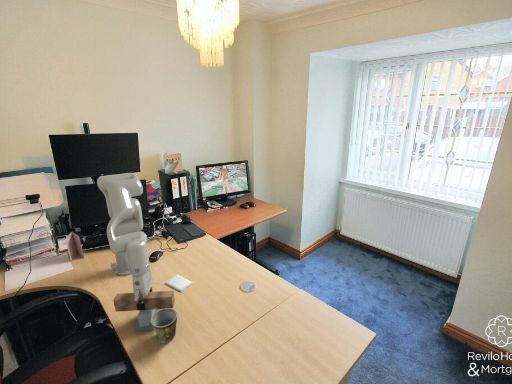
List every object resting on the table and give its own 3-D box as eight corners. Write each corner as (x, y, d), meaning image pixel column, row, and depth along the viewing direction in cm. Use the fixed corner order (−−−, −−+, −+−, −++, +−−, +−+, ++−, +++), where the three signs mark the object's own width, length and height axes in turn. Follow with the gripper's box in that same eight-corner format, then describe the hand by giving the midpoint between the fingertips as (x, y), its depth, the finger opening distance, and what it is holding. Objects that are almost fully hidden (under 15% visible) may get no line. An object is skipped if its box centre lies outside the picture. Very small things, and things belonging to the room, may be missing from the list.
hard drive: (165, 282, 141) (181, 290, 134) (177, 274, 147) (193, 281, 141) (165, 284, 141) (181, 293, 135) (177, 276, 148) (193, 284, 141)
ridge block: (134, 331, 111) (131, 317, 109) (143, 310, 123) (141, 297, 120) (153, 330, 112) (151, 316, 110) (161, 309, 123) (159, 296, 121)
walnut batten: (115, 311, 112) (113, 300, 110) (119, 304, 116) (117, 293, 114) (172, 308, 114) (171, 297, 112) (174, 301, 118) (173, 290, 116)
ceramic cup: (152, 332, 111) (149, 313, 108) (176, 323, 115) (173, 304, 112) (157, 357, 100) (154, 336, 97) (183, 345, 105) (181, 326, 101)
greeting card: (75, 252, 171) (70, 231, 166) (88, 250, 173) (83, 230, 168) (69, 261, 161) (63, 240, 156) (83, 259, 163) (78, 238, 158)
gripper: (142, 280, 101) (148, 316, 106) (155, 256, 117) (159, 288, 123) (122, 281, 100) (128, 317, 106) (137, 256, 117) (143, 289, 122)
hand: (145, 301), depth 114 cm, fingers open, 9 cm apart
